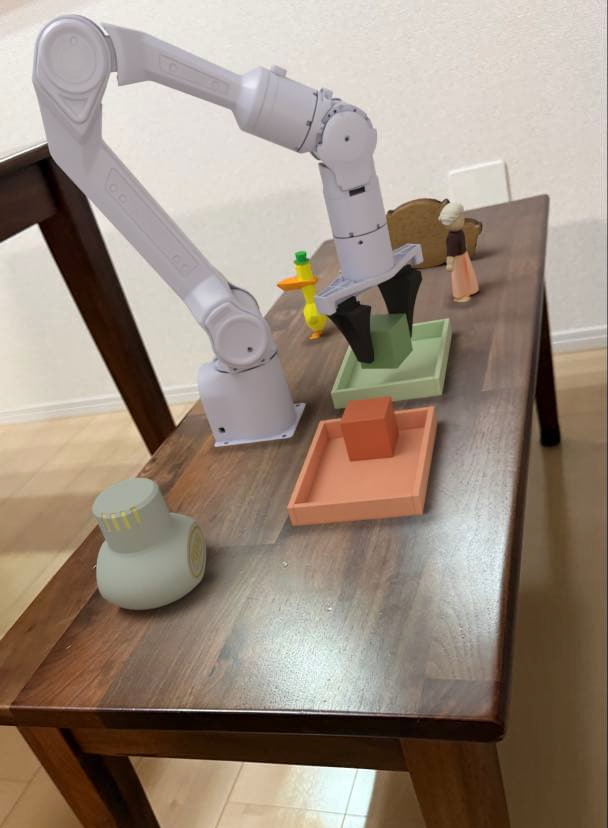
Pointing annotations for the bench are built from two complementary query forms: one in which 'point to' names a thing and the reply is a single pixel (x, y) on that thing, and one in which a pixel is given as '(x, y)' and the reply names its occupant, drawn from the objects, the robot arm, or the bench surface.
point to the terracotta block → (370, 428)
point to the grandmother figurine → (458, 253)
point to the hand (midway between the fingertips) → (385, 349)
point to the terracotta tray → (365, 475)
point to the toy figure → (306, 292)
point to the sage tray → (399, 369)
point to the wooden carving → (427, 230)
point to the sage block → (389, 341)
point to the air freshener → (145, 547)
